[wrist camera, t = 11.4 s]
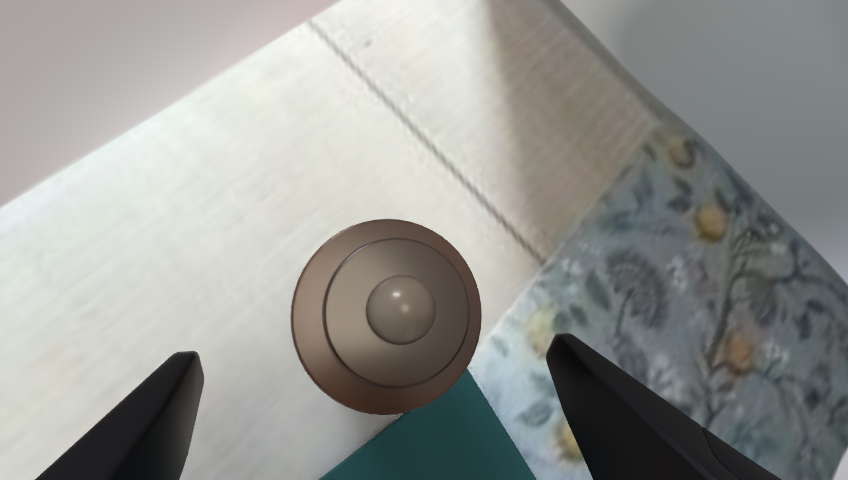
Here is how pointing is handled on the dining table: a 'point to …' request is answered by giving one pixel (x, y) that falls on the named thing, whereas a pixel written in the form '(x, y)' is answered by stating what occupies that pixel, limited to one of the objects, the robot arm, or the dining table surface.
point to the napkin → (440, 444)
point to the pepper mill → (386, 316)
